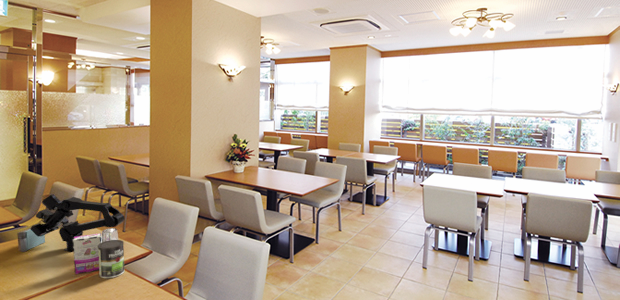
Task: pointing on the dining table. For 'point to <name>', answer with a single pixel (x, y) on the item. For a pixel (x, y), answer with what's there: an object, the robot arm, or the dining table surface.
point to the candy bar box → (86, 253)
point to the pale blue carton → (21, 237)
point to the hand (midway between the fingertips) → (41, 235)
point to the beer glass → (109, 234)
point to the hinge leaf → (31, 240)
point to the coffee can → (111, 258)
